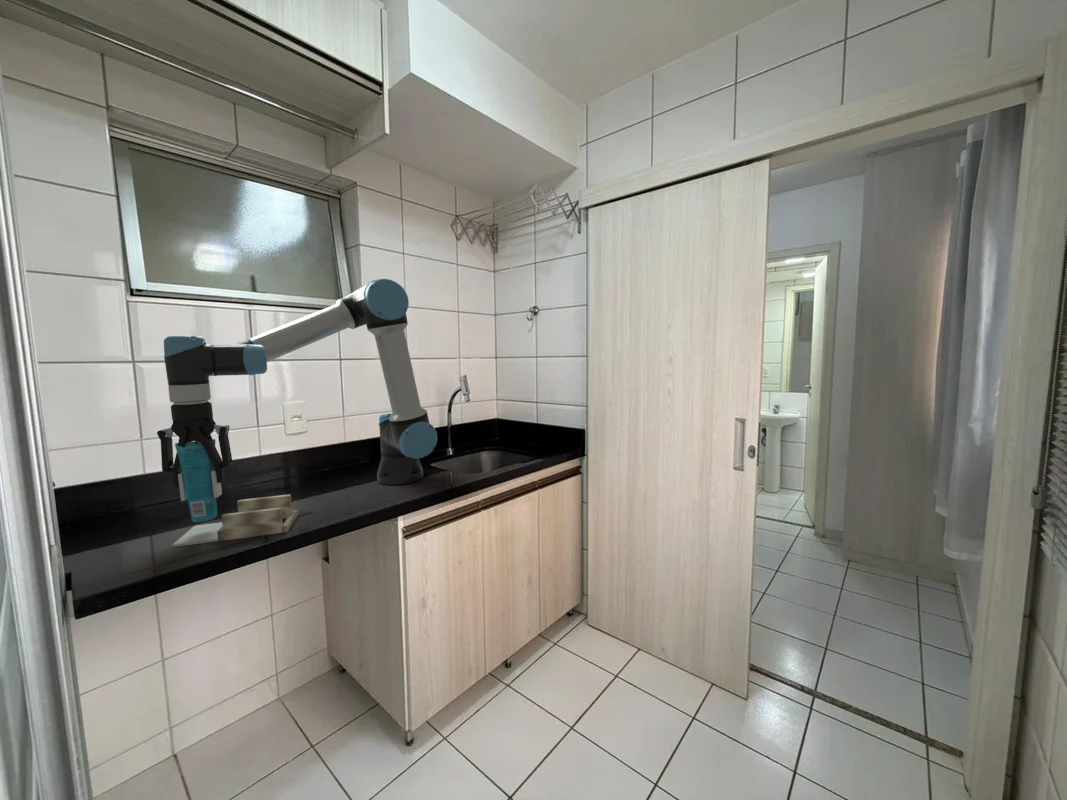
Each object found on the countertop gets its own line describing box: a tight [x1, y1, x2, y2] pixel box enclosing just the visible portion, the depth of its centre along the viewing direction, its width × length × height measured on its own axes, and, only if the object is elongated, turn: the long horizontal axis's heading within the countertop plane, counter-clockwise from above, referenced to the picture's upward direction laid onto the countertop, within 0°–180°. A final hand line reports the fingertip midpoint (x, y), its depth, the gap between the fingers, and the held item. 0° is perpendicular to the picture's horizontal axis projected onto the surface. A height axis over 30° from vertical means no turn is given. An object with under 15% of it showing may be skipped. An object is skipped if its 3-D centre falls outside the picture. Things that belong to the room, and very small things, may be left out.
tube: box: [174, 438, 218, 523], centre depth 100 cm, size 7×5×19 cm, turn 133°
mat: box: [172, 521, 223, 548], centre depth 102 cm, size 9×11×1 cm
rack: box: [217, 493, 299, 542], centre depth 105 cm, size 14×11×6 cm
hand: (202, 497), depth 101 cm, fingers closed on tube, 6 cm apart
